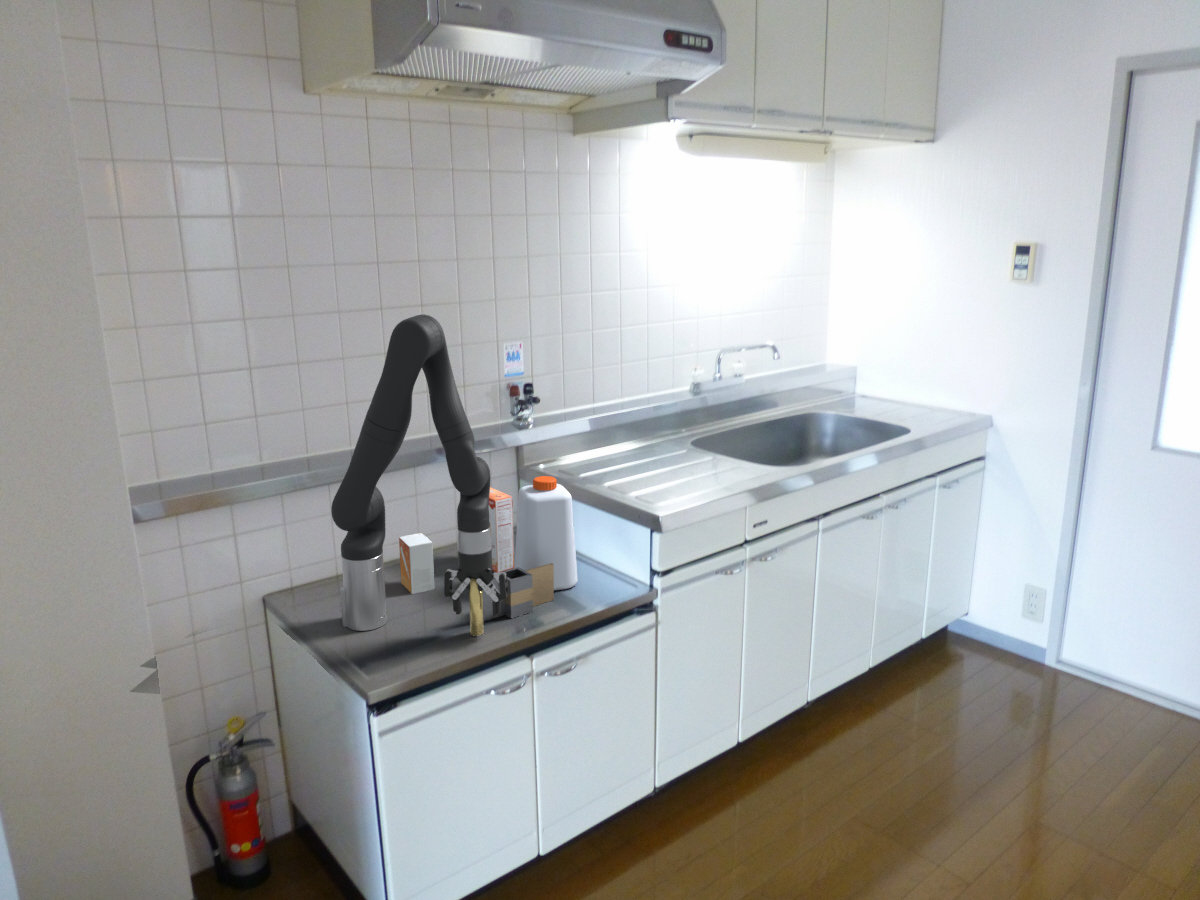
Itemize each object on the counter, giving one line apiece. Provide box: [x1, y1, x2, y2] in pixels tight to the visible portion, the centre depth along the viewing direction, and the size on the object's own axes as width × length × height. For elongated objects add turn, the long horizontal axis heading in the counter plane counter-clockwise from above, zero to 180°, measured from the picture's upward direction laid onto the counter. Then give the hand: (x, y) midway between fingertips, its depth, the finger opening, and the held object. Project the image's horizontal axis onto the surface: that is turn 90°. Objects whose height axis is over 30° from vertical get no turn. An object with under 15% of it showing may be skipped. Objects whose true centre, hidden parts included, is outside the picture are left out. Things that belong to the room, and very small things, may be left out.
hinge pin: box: [468, 578, 485, 637], centre depth 197 cm, size 3×3×14 cm
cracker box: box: [488, 486, 515, 573], centre depth 237 cm, size 14×6×21 cm, turn 39°
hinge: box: [482, 563, 555, 623], centre depth 209 cm, size 22×6×10 cm, turn 128°
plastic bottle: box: [514, 475, 579, 591], centre depth 224 cm, size 15×15×28 cm
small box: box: [398, 532, 435, 595], centre depth 222 cm, size 8×6×13 cm
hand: (477, 614), depth 197 cm, fingers open, 8 cm apart
